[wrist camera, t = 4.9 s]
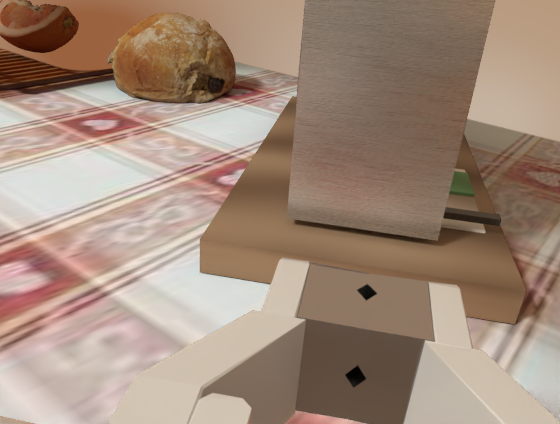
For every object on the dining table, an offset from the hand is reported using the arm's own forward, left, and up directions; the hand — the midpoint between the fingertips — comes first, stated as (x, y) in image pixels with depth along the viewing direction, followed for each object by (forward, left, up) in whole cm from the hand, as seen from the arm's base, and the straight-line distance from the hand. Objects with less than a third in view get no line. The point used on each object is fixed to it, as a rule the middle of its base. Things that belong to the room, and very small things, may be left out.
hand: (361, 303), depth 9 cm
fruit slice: (-52, +15, -7) cm, 54 cm away
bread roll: (-34, +19, -7) cm, 40 cm away
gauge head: (-7, +13, -5) cm, 15 cm away
